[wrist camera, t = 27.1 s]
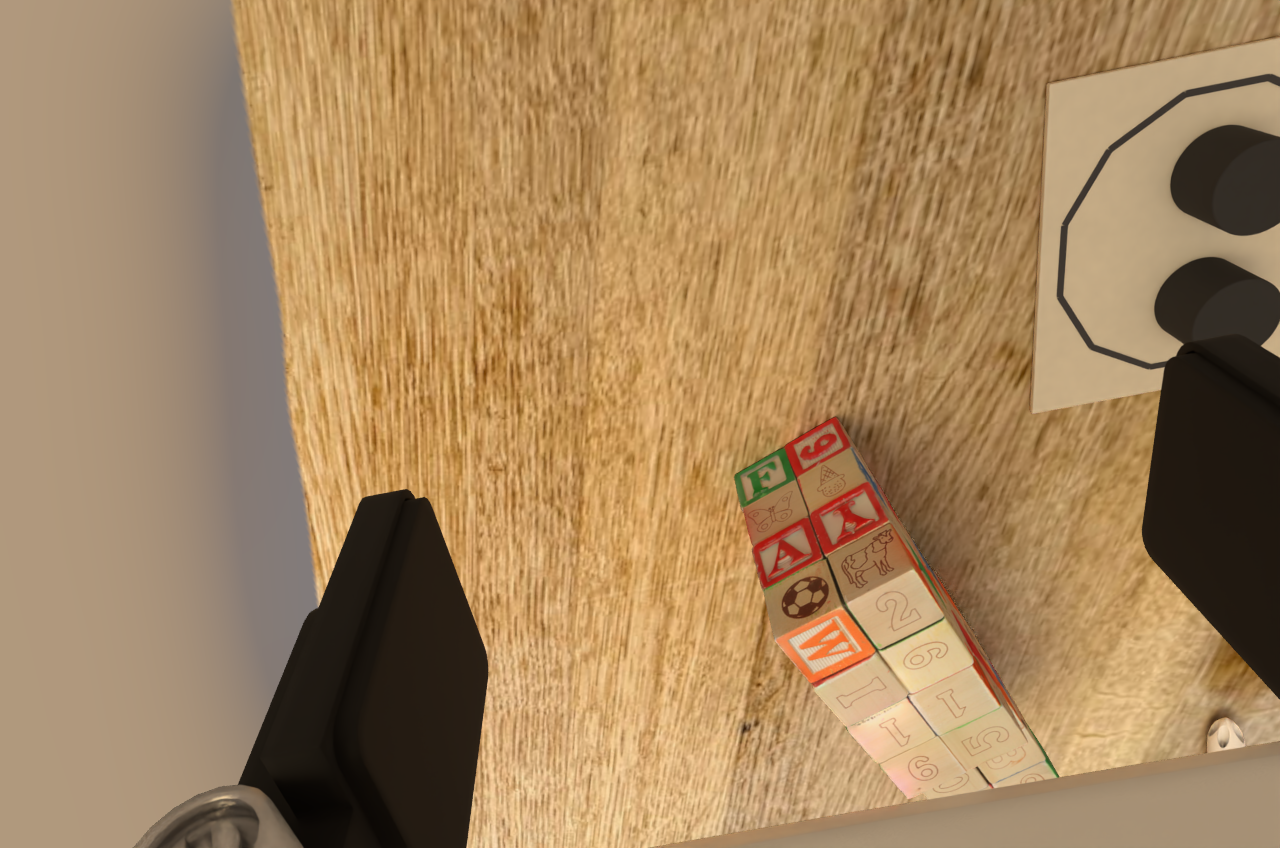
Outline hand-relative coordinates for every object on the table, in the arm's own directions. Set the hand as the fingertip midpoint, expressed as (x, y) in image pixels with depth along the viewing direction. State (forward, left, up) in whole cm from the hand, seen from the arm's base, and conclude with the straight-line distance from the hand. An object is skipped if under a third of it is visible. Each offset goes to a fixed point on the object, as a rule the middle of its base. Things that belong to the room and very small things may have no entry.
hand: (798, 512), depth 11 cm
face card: (+10, +24, -28) cm, 38 cm away
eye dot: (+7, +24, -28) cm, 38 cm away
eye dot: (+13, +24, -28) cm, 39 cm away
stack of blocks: (+27, +8, -28) cm, 40 cm away
